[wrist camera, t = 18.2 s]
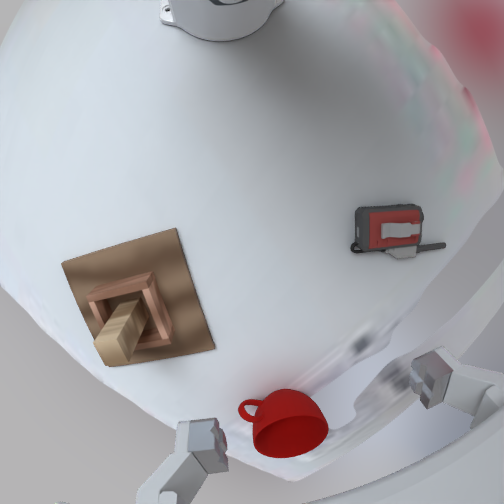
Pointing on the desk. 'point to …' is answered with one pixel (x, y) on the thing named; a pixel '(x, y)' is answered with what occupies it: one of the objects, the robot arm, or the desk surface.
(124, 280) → the wooden peg socket board
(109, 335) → the wooden peg
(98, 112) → the desk surface
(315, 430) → the ceramic cup
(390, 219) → the walkie-talkie
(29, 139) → the desk surface
